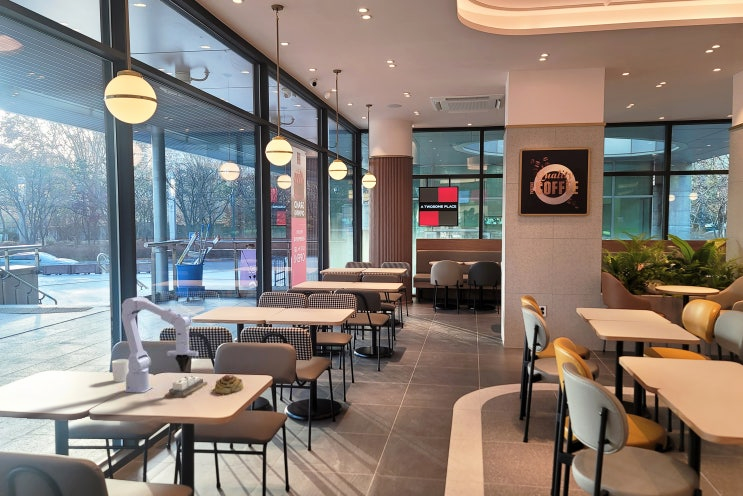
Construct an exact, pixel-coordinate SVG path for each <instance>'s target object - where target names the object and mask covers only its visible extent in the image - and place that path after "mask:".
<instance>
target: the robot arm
mask: <svg viewBox="0 0 743 496" xmlns="http://www.w3.org/2000/svg"><path fill="white" fill-rule="evenodd" d="M121 307H122V308H121V309H122V310H121V311H122V312H121V320H122V325H123V328H124V331H125V332H124V333H125V336H126V340H127V344H128V348H129V351H130V354H129V356H128V361H129V364H128V368H129V372H128V373H127V375H126V381H125V391H124V393H138V394H139V393H142V394H143V393H145V392H147V391H149V390H151V389H153V386H150V385H149V383H150V382H149V368H150V367H151V365H152V360H151V357H150V356H149V355H148V352H147V350H144V348H143V344H142V340H141V336H140V332H139V329H138V326H137V320H136V317H137V316H138V314H139V313H140V312H141V311H142V310H146V311H149V312H151V313H154V314H155V315H157V316H160V319H161V320H162V321H164V322H166V323H168V324H170V325H172V327H173V328H174V329H175V350H169V351H166V355H167V356H168V357H169V356H175V357H174V358H175V360H176V362H177V364H178V366H179V370H180V373H181V372H183V373H184V372H186V369H187V366H188V362H189V360H190V359H191V357H198V356H199V351H197V350H196V351H195V350H190V329H189V328H190V325H191V324H192V323H191V322H192V320H191V318H190V316H188V315H187V314H183V315H182V313H180V312H179V313H178V312H176V311H174V310H173V308H163V307H161V306H159V305H158V304H156V303H154V302H152V301H150V300H149V298H147V297H143V296H142V295H141V296H135V297H131V298H127V299H125V300H123V303H122V304H121Z"/></svg>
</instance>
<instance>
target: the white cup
mask: <svg viewBox="0 0 743 496" xmlns="http://www.w3.org/2000/svg"><path fill="white" fill-rule="evenodd" d="M128 364H129V361H128V359H127V358H120V359H114V360H112V361H111V367H112V369H111V371H112V377H113V382H114V383H123V382H124V383H125V382H126V375H127V373H128V372H130V370H129V368H128Z"/></svg>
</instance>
